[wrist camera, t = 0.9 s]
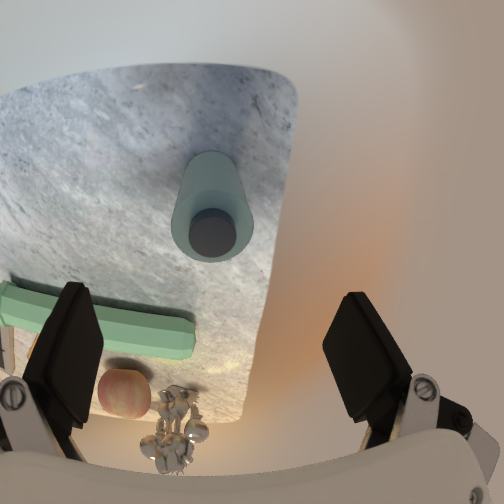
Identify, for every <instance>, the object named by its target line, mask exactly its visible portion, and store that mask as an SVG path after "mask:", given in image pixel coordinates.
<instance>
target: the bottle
mask: <svg viewBox="0 0 504 504" xmlns="http://www.w3.org/2000/svg"><path fill="white" fill-rule="evenodd" d="M253 228H254V221H253V216H252V213H251V210H250V207H249V204H248V201H247V198H246V195H245V192H244V189H243V186H242V183H241V180H240V177H239V174H238V172H237V169H236V166H235V164H234V163H233V161H232V160H231V159H230V158H229V157H228V156H226V155H225V154H222V153H220V152H215V151H208V152H203V153H200V154H198V155H196V156H195V157H194V158H193V159H192V160H191V161H190V162H189V163H188V165H187V167H186V169H185V172H184V176H183V179H182V182H181V186H180V189H179V193H178V197H177V200H176V204H175V208H174V211H173V215H172V219H171V233H172V237H173V239H174V241H175V243H176V245H177V246H178V248H179V249H180V250H181V251H182V252H183V253H185V254H186V255H187V256H189V257H191V258H193V259H195V260H198V261H202V262H209V263H214V262H221V261H225V260H228V259H230V258H232V257H234V256H236V255H238V254H239V253H240V252H241V251H242V250H243V249H244V248H245V247H246V246H247V244H248V243H249V241H250V239H251V237H252V234H253Z"/></svg>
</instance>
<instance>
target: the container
mask: <svg viewBox="0 0 504 504" xmlns="http://www.w3.org/2000/svg"><path fill="white" fill-rule="evenodd" d="M58 298H59V297H55V296H51V295H47V294H42V293H38V292H34V291H30V290H26V289H22V288H19V287H17V284H16V283H13V282H9V281H4V280H3V281H2V283H1V284H0V325H1V326H4V327H8V326H15V327H18V328H21V329H24V330H27V331H31V332H34V333H37V334H40V332H41V330H42V328H43V326H44V323H45V321H46V320H47V318H48V317H49V316H50V314H51V312H52V310H53V308H54V306H55V304H56V302H57V300H58ZM93 306H94V310H95V313H96V316H97V319H98V323H99V326H100V329H101V332H102V335H103V338H104V347H103V349H105V350H111V351H116V352H122V353H128V354H135V355H142V356H149V357H157V358H165V359H174V360H183V359H186V358H189V357H191V355H192V352H193V349H194V346H195V342H196V336H195V330H194V324H193V323H191V322H190V321H188V320H186V319H184V318H180V317H171V316H164V315H156V314H149V313H142V312H135V311H129V310H123V309H117V308H111V307H105V306H100V305H94V304H93Z"/></svg>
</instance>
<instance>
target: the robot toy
mask: <svg viewBox="0 0 504 504" xmlns="http://www.w3.org/2000/svg"><path fill="white" fill-rule="evenodd" d="M167 390H168V391H170V393H169V392H168V391H166V390H162V391H160V392H158V393H157V394H158V395H159V396H160V398H161V399H162V401H163V403H162V404H161V405H160V406H159V407H158V413H159V415H160V416H161V417H162V418H160V419H158V422H157V425H156V430H157V432H158V433H156V436H155V435H148V436H146V437H144V438H143V439H142V440H141V442H140V449H141V452H142V454H143V455H144V456H145V457H147V458H149V459H153V460H155V463H156V467H157V469H158V471H159V473H160V474H166V473H169V472H171V471H172V473H173V472H174V471H176V473H177V476H178V472H180V471H181V472H182V473H183V469H184V467H185V466H187V464H189V463H192V462H193V458H192V457H191V456H192V453H193V450H194V445H193V444H192V442H194V443H200V442H203V441H204V440H205V439H206V438H207V437H208V435H209V429H208V427H207V425H206V424H205V423H204V422H203V421H201V418H202V415H199V410H198V407H196V404H194V405H193V402H196V403H198V402H197V401H196V399H197V398H199V397H198V394H199V393H198V392H195V391H192V390H189V389H184V388H181V387H178V386H173V385H172V386H170V387H169V388H167ZM180 392H181V394H182V395H183V396H184V397H182V396H181V395H180ZM172 395H173V397H170V396H172ZM191 405H192V406H191ZM190 407H191V417H190V420H188V422H187V423H186V426H185V429H184V434H183V433H180V424H181V420H182V419H183V418H184V416H185V415H186V413H187V411H188V409H189V408H190ZM163 419H164V420H165V421H166V427H165V428H164V420H163ZM174 420H175V428H174V432H172V428H171V424H172V423H173V421H174ZM165 432H166V433H167V434H165Z"/></svg>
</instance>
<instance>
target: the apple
mask: <svg viewBox="0 0 504 504" xmlns="http://www.w3.org/2000/svg"><path fill="white" fill-rule="evenodd" d="M98 398H99V401H100V404H101V406H102V407H103V409H104V410H105V411H107V412H108V413H111V414H115V415H118V416H121V417H125V418H129V419H137V418H140V417H142V416H143V415H145V414H146V413H147V411H148V409H149V407H150V403H151V391H150V387H149V384H148V382H147V380H146V378H145V377H144V375H143V374H142V373H140V372H139V371H137V370H125V369H111V370H108V371H107V372H105V373H104V374H103V376H102V377H101V379H100V381H99V384H98Z"/></svg>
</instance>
